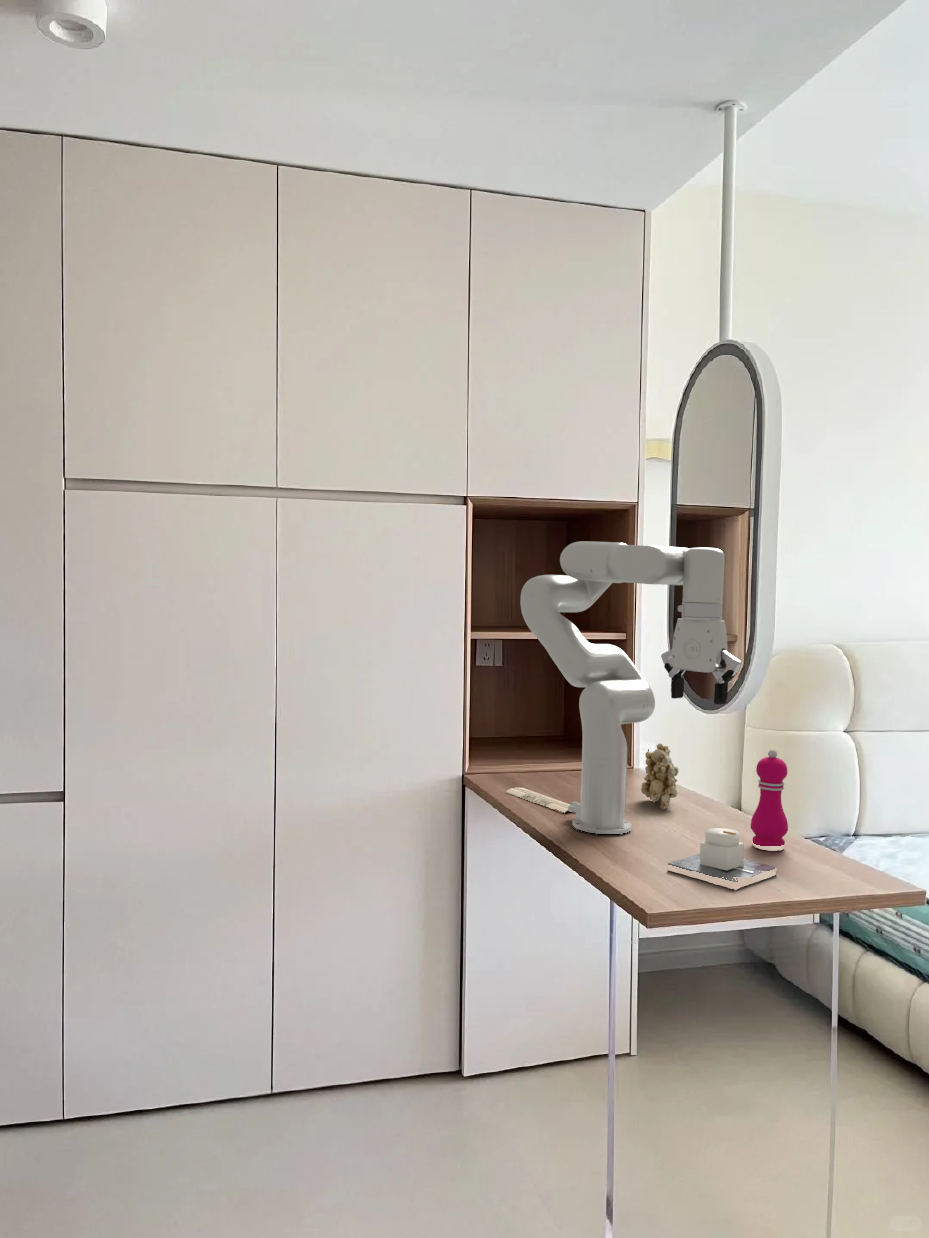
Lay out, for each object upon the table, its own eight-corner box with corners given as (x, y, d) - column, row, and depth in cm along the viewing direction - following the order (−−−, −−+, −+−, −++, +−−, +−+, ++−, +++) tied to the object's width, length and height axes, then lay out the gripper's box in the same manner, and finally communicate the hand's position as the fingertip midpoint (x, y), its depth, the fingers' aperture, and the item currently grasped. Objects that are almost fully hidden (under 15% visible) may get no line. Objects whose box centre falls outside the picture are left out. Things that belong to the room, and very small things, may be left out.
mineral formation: (669, 799, 238) (671, 738, 238) (686, 813, 225) (689, 748, 224) (636, 799, 238) (639, 738, 237) (652, 812, 224) (655, 747, 224)
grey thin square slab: (667, 870, 179) (668, 844, 179) (710, 857, 189) (711, 832, 189) (734, 890, 169) (736, 862, 169) (776, 875, 179) (778, 848, 178)
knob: (698, 864, 179) (698, 829, 179) (716, 858, 183) (717, 825, 183) (727, 870, 175) (727, 835, 175) (745, 864, 179) (745, 830, 179)
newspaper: (584, 814, 223) (584, 807, 223) (559, 818, 220) (559, 810, 220) (525, 793, 243) (525, 786, 243) (501, 796, 240) (502, 788, 240)
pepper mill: (758, 840, 203) (762, 745, 202) (792, 847, 198) (797, 749, 197) (743, 847, 197) (748, 749, 196) (778, 854, 192) (783, 754, 192)
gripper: (653, 610, 191) (649, 697, 192) (730, 614, 179) (726, 707, 180) (675, 610, 197) (672, 694, 197) (752, 614, 184) (748, 704, 185)
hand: (698, 700), depth 188 cm, fingers open, 9 cm apart
